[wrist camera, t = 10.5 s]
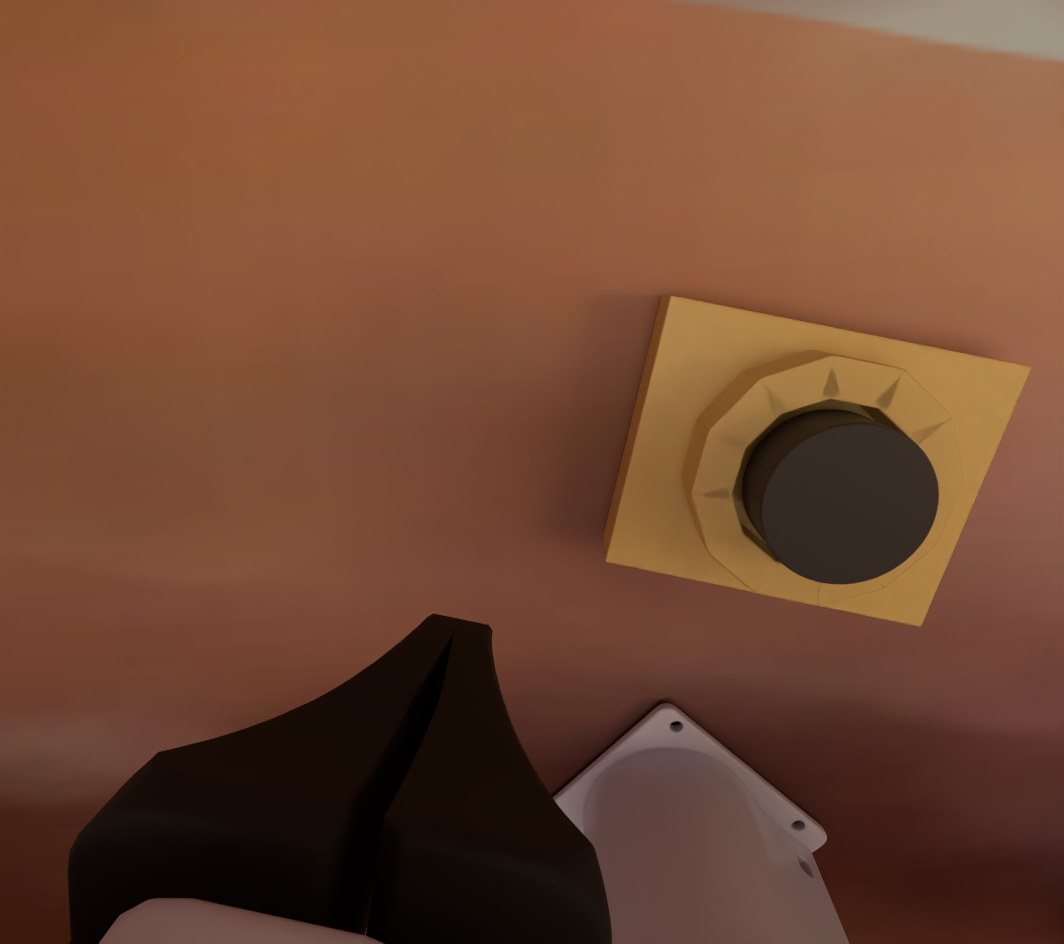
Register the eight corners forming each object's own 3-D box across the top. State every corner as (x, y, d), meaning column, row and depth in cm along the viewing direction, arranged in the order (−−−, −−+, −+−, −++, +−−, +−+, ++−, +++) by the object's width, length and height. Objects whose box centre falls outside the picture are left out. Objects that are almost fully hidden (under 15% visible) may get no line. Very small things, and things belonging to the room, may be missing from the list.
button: (924, 426, 18) (967, 442, 16) (869, 568, 19) (903, 600, 17) (767, 394, 18) (790, 407, 16) (723, 538, 19) (739, 566, 17)
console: (986, 359, 20) (1080, 374, 17) (890, 596, 23) (952, 657, 19) (661, 294, 21) (679, 295, 17) (602, 537, 23) (607, 586, 19)
